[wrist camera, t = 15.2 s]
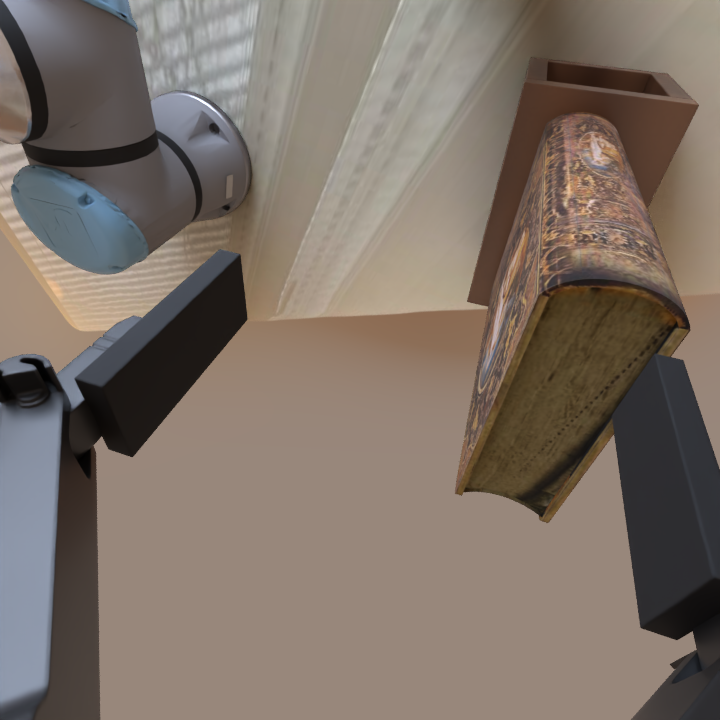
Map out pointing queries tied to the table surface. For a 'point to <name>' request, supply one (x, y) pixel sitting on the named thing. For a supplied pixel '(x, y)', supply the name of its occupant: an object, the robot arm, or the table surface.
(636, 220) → the book
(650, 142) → the shelf
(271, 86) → the table surface
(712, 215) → the table surface
